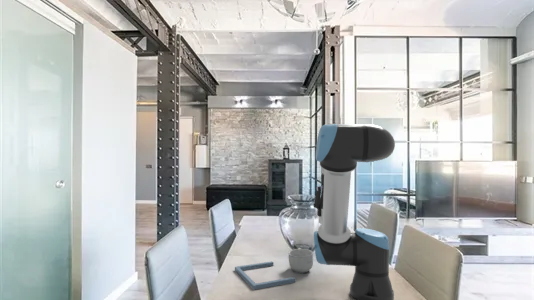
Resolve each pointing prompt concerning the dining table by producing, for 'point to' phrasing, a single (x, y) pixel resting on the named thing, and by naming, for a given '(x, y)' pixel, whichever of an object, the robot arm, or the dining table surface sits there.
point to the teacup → (300, 260)
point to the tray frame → (263, 284)
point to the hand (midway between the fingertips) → (329, 222)
